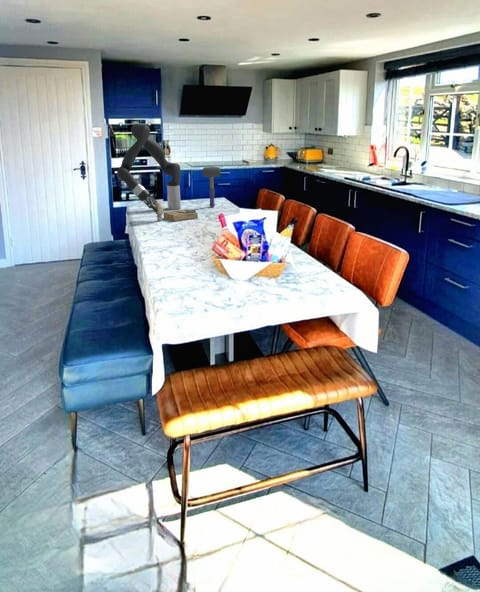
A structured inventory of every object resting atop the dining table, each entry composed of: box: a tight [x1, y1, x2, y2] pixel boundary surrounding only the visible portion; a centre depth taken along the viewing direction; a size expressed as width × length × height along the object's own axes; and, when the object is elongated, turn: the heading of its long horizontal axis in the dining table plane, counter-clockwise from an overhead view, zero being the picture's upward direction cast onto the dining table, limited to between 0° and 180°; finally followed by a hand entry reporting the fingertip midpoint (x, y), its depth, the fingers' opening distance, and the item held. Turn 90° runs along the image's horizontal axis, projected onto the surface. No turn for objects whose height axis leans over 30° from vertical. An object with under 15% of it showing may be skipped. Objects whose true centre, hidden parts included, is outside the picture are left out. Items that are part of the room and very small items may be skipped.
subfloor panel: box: [163, 208, 199, 223], centre depth 348 cm, size 15×18×4 cm
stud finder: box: [186, 208, 197, 213], centre depth 346 cm, size 3×6×2 cm, turn 127°
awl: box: [154, 201, 164, 222], centre depth 338 cm, size 5×5×12 cm
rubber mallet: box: [202, 166, 221, 208], centre depth 381 cm, size 12×8×30 cm, turn 101°
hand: (158, 210), depth 337 cm, fingers open, 8 cm apart
